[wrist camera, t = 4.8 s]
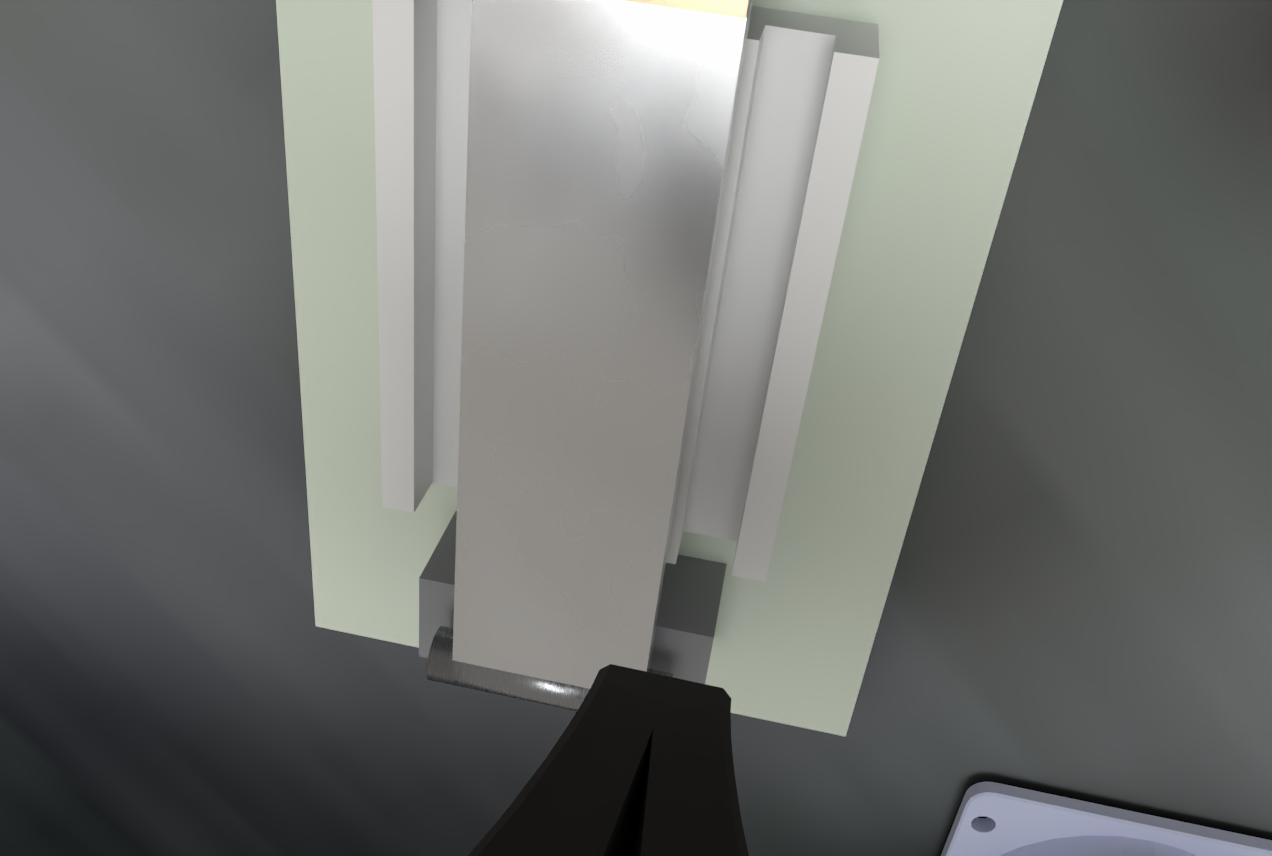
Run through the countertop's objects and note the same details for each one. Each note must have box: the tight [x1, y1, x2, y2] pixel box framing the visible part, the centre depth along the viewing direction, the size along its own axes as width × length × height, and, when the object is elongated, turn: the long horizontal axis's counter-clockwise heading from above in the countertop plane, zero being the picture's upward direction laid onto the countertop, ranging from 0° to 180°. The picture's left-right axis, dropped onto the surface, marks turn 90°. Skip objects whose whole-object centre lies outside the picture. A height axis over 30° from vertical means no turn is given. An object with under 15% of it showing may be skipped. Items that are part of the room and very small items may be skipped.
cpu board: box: [276, 0, 1063, 737], centre depth 19 cm, size 18×12×4 cm, turn 174°
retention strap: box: [427, 0, 753, 711], centre depth 17 cm, size 14×4×1 cm, turn 174°
